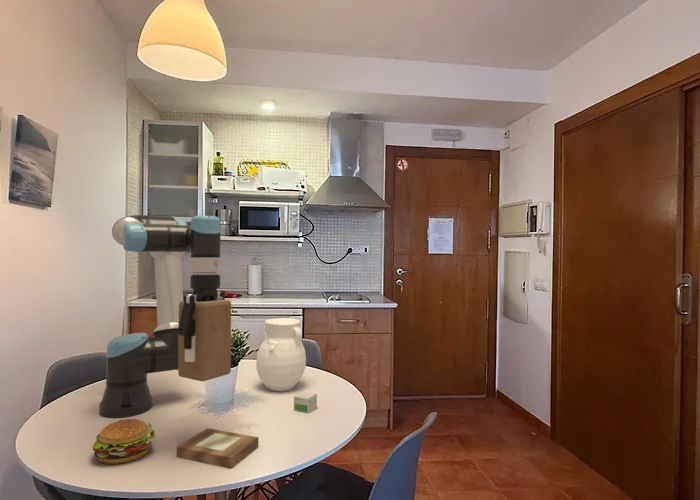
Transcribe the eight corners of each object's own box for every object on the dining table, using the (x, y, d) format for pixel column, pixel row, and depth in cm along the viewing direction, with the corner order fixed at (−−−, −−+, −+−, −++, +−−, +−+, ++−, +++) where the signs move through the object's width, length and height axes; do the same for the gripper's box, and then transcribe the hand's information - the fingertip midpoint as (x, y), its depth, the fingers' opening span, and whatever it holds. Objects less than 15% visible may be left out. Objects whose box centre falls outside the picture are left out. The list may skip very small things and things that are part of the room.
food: (149, 464, 104) (149, 431, 104) (84, 469, 101) (85, 435, 101) (161, 439, 118) (162, 410, 118) (104, 443, 115) (105, 413, 115)
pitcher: (315, 385, 166) (316, 319, 166) (283, 398, 151) (284, 326, 151) (278, 376, 176) (279, 315, 176) (245, 388, 161) (246, 321, 161)
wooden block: (201, 383, 109) (202, 302, 109) (176, 377, 114) (177, 300, 115) (232, 374, 117) (232, 299, 118) (207, 369, 123) (208, 298, 123)
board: (176, 456, 108) (176, 446, 108) (207, 437, 120) (207, 427, 119) (231, 468, 103) (231, 457, 103) (258, 446, 114) (258, 436, 114)
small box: (293, 410, 140) (293, 395, 140) (302, 405, 145) (302, 390, 145) (308, 413, 138) (308, 398, 138) (317, 408, 143) (317, 393, 143)
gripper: (186, 275, 104) (186, 368, 103) (242, 272, 126) (242, 349, 125) (161, 275, 107) (160, 365, 106) (220, 272, 128) (220, 347, 128)
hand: (205, 356), depth 116 cm, fingers closed on wooden block, 11 cm apart
